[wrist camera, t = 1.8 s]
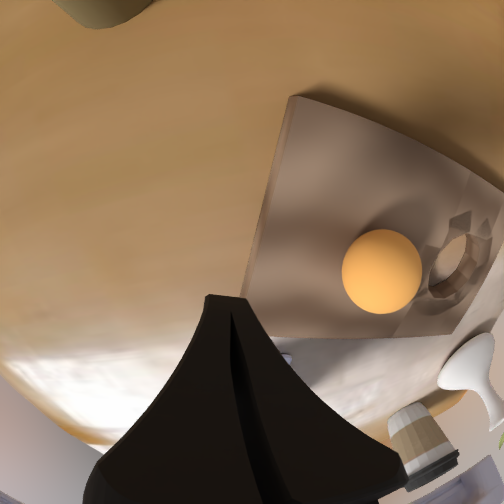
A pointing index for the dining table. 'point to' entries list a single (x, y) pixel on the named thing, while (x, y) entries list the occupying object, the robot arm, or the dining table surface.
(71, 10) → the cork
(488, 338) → the flower in vase
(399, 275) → the ball
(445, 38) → the dining table surface
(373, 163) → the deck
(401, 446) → the coffee cup
